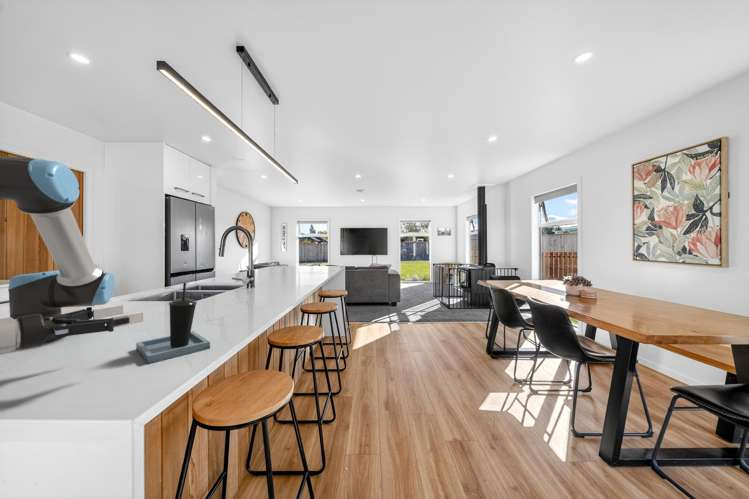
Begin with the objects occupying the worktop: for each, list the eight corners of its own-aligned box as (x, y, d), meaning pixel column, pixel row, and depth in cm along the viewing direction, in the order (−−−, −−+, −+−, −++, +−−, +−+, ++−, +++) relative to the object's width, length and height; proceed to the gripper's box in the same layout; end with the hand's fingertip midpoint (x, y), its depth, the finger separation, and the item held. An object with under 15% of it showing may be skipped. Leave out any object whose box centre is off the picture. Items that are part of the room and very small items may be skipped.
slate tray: (136, 349, 92) (136, 342, 92) (193, 337, 104) (193, 331, 104) (148, 364, 82) (147, 356, 82) (210, 348, 94) (209, 341, 94)
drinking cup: (180, 350, 90) (185, 285, 90) (158, 346, 91) (164, 282, 91) (199, 342, 97) (204, 282, 97) (179, 340, 98) (184, 280, 99)
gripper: (6, 339, 72) (115, 318, 90) (30, 363, 59) (152, 333, 77) (4, 309, 72) (114, 294, 90) (28, 326, 59) (151, 305, 77)
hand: (132, 312), depth 84 cm, fingers open, 13 cm apart
